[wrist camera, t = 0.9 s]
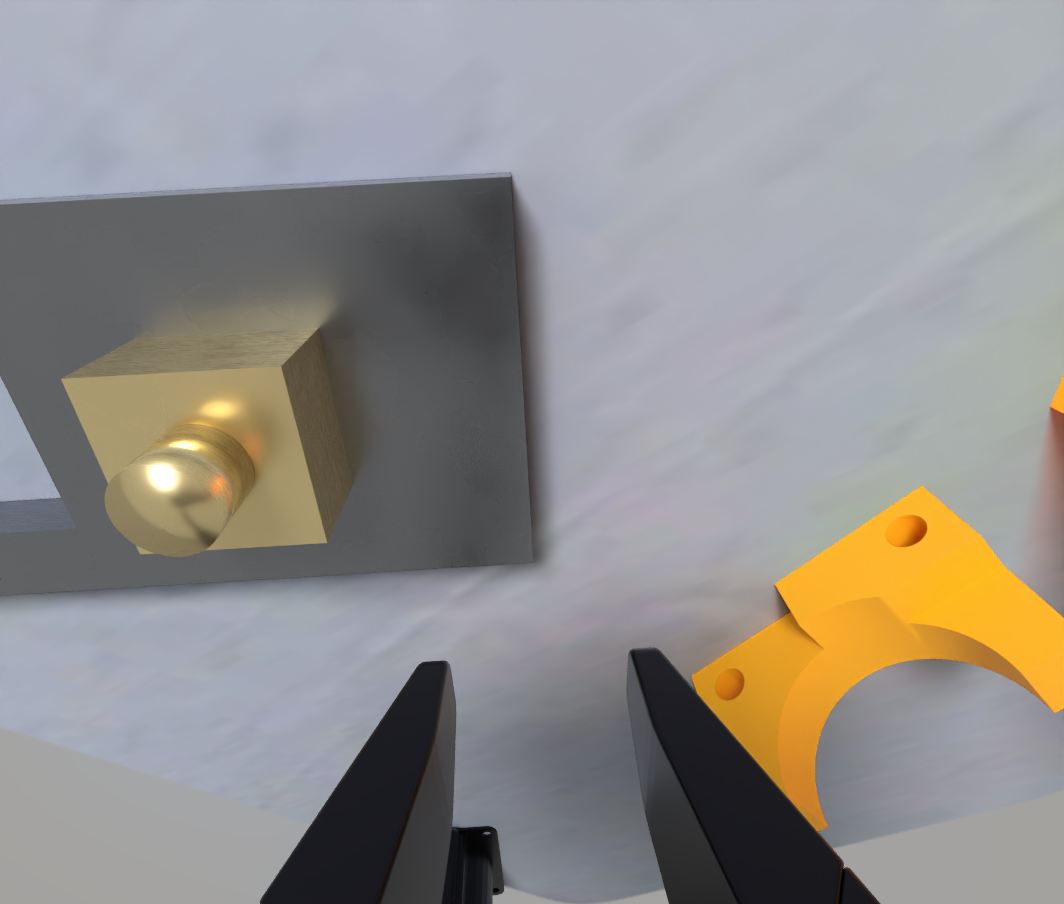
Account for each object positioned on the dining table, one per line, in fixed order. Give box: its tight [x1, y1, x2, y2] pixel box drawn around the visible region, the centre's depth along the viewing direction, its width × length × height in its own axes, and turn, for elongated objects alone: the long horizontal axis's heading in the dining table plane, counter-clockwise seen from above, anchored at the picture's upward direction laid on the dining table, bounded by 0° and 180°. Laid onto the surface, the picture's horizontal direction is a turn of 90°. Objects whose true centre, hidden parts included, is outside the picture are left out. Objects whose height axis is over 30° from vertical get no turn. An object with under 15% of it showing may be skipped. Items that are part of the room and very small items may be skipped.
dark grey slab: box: [0, 172, 533, 595], centre depth 18 cm, size 12×24×2 cm, turn 93°
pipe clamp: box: [691, 486, 1064, 832], centre depth 22 cm, size 12×4×6 cm, turn 134°
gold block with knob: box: [61, 329, 353, 557], centre depth 15 cm, size 5×5×5 cm
